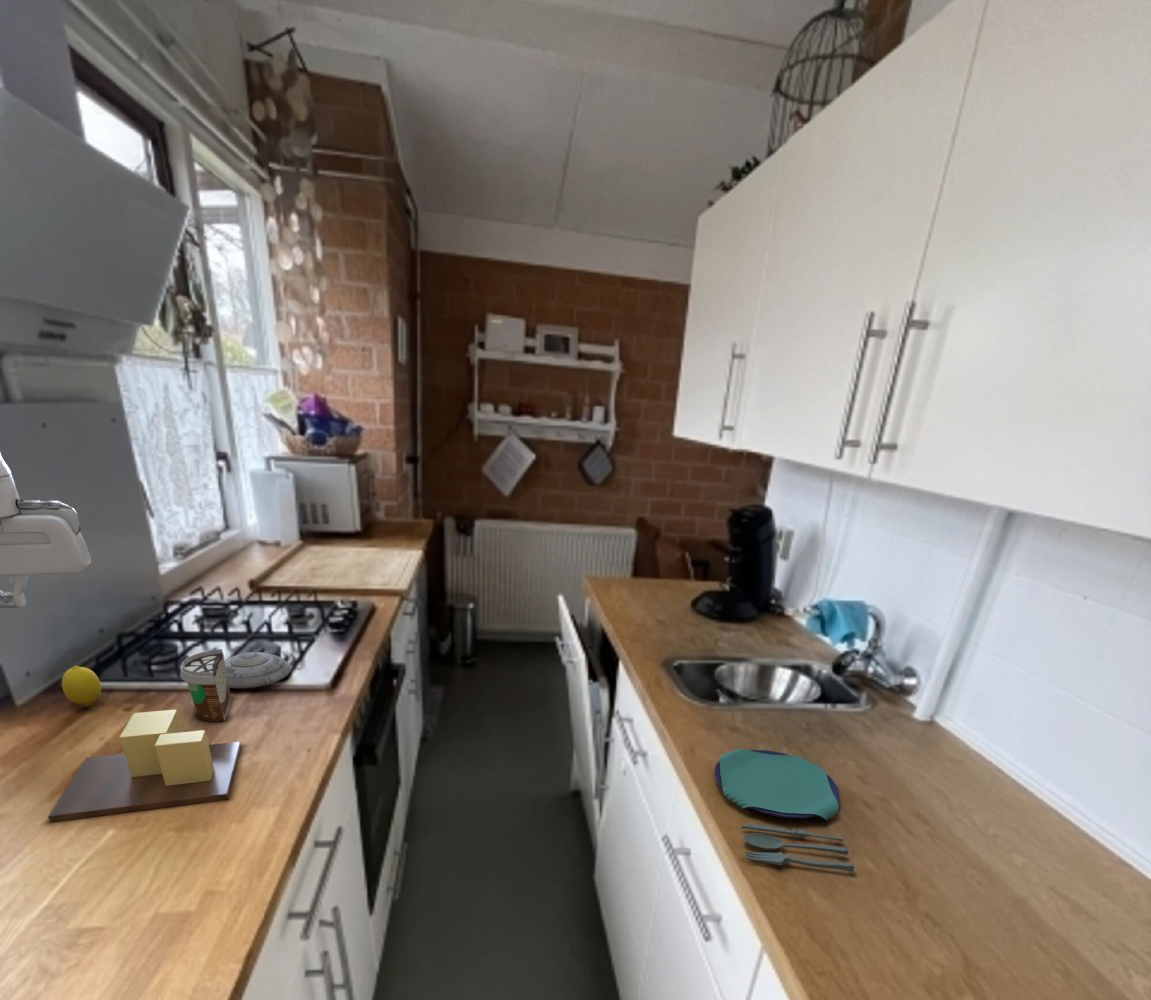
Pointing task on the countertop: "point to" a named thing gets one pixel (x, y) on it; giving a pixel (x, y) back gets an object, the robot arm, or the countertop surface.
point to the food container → (208, 684)
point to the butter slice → (184, 757)
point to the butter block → (147, 739)
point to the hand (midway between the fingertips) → (11, 606)
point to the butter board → (139, 786)
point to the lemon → (81, 685)
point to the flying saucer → (255, 669)
